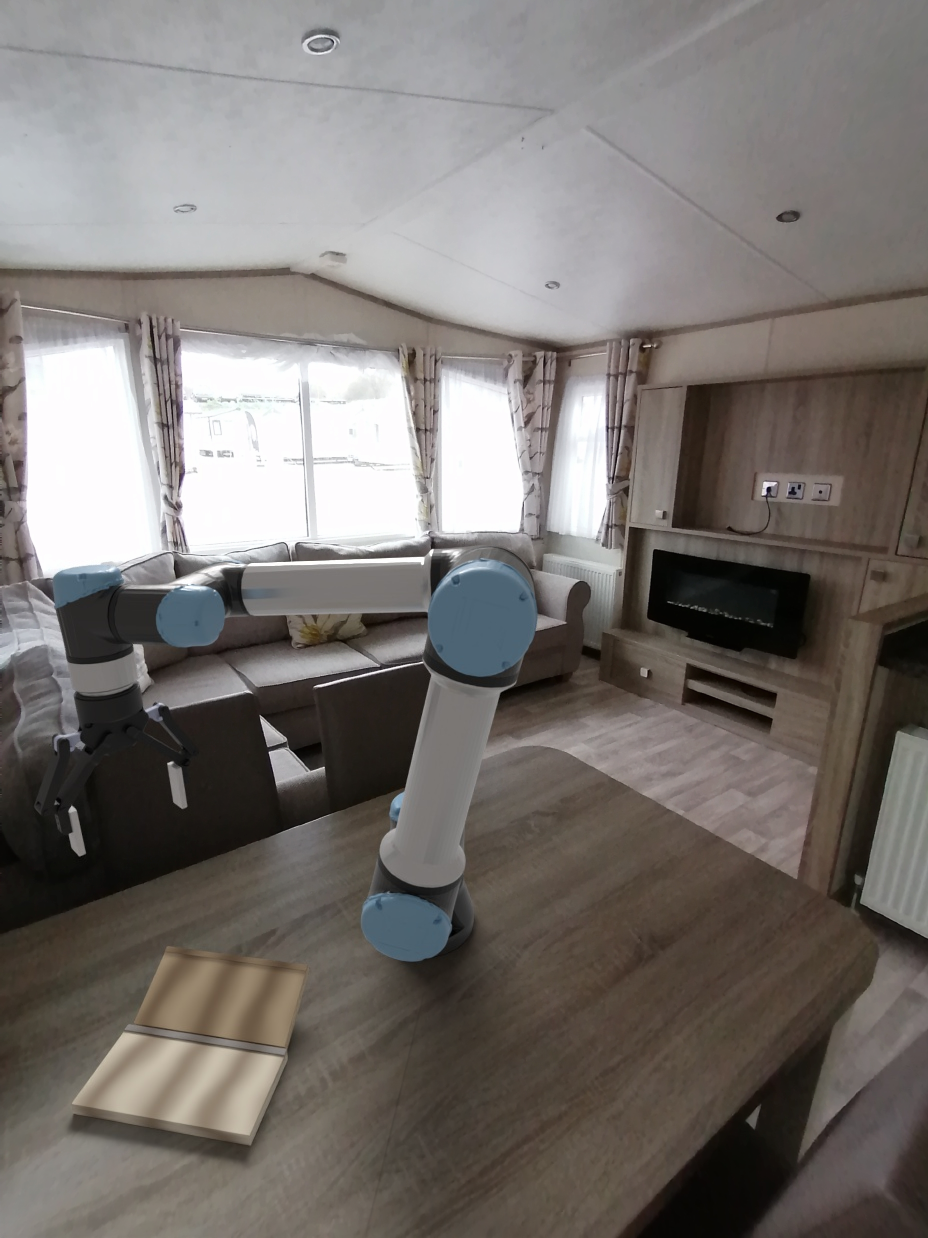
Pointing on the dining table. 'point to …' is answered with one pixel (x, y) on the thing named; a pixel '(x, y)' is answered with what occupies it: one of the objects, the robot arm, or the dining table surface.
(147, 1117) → the laid board
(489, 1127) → the dining table surface
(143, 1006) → the plank
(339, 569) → the robot arm
